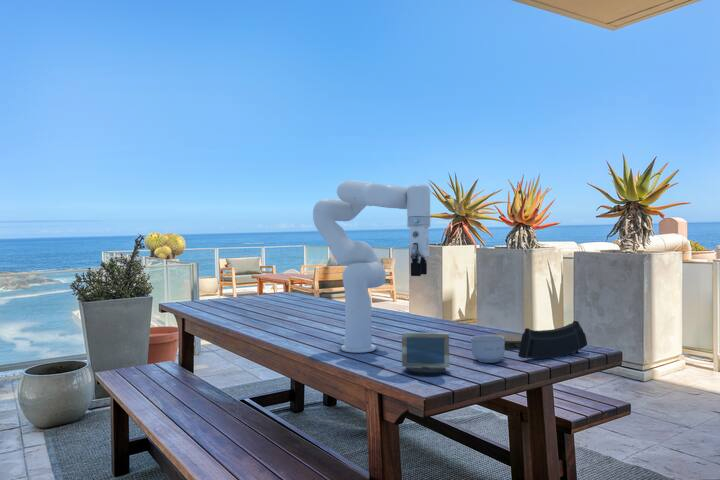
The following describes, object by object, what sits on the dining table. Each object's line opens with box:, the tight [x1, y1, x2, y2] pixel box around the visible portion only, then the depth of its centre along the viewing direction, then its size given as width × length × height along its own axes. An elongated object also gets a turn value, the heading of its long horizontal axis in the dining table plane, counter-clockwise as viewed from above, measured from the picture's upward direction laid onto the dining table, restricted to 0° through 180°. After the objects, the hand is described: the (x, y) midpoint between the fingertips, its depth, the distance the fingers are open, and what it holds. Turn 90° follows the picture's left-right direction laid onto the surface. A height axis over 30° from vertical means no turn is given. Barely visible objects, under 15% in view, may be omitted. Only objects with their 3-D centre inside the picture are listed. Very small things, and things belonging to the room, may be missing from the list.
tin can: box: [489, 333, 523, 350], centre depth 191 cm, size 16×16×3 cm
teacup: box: [470, 334, 506, 364], centre depth 165 cm, size 14×11×8 cm
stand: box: [405, 367, 447, 377], centre depth 151 cm, size 12×12×1 cm
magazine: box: [517, 320, 588, 360], centre depth 170 cm, size 17×3×30 cm
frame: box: [401, 331, 450, 368], centre depth 153 cm, size 5×14×10 cm, turn 85°
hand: (419, 275), depth 164 cm, fingers open, 9 cm apart
